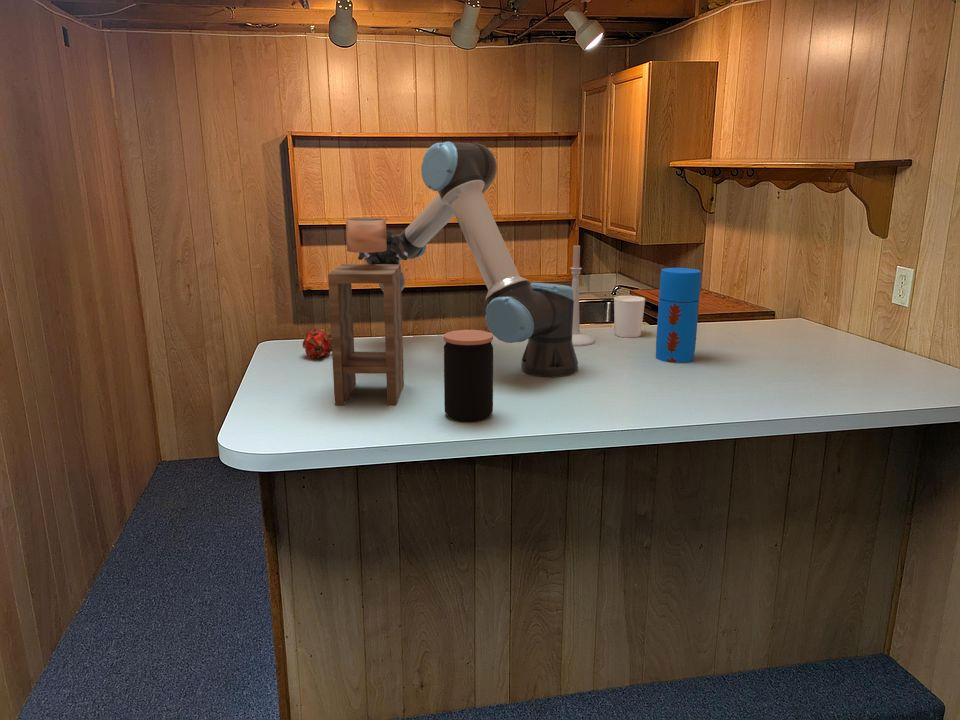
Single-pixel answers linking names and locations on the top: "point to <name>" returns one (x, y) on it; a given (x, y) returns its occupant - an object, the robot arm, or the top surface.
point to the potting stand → (343, 334)
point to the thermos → (678, 314)
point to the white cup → (628, 316)
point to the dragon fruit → (317, 343)
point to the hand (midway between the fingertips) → (373, 228)
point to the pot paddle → (366, 235)
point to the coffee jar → (468, 375)
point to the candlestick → (577, 303)
